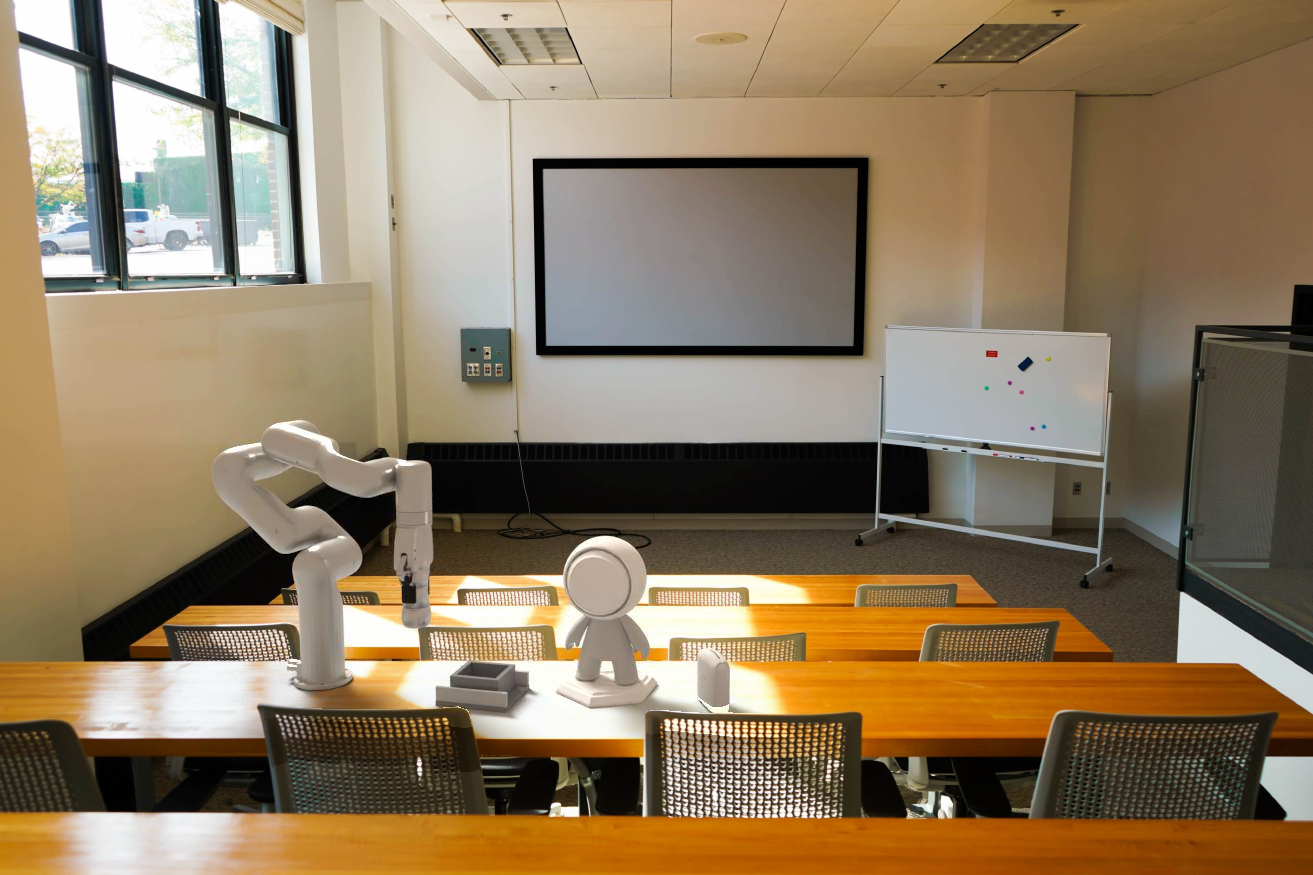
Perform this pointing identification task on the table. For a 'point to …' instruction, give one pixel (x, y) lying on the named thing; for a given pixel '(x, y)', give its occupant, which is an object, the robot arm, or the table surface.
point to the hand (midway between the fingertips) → (415, 598)
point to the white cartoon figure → (606, 623)
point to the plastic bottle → (418, 598)
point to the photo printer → (713, 678)
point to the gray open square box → (484, 686)
